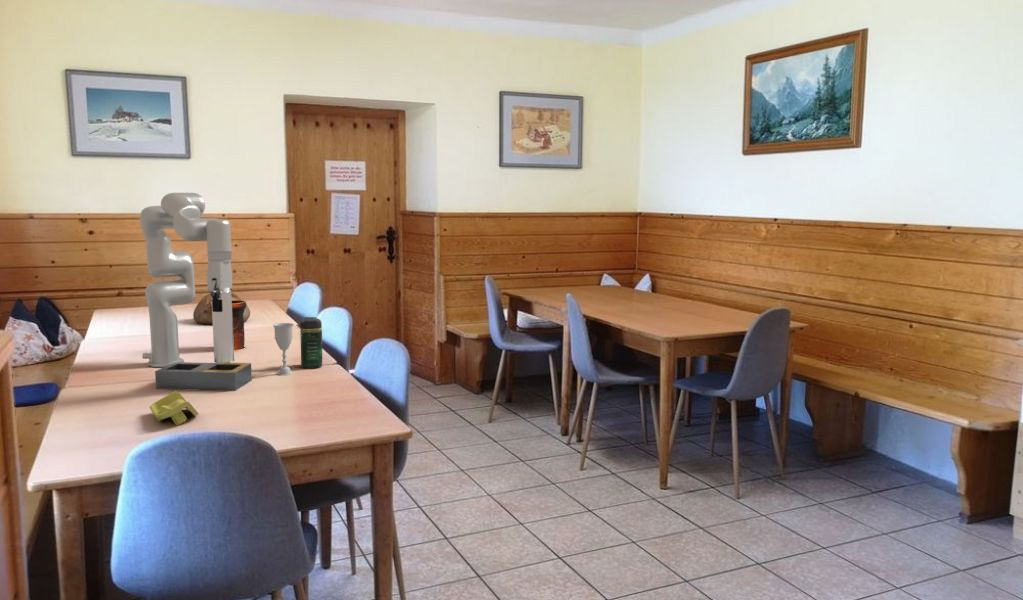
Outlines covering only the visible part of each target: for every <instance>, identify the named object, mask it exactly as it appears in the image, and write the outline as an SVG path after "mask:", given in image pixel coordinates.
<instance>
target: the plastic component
mask: <svg viewBox="0 0 1023 600" xmlns="http://www.w3.org/2000/svg"><path fill="white" fill-rule="evenodd" d="M149 409H150V411H151V412H152V414H153V415H154V417H155V419H156V420H157V421H158V422H161V421H163V420H166V419H168V418H170V419H172V421H173V423H174V424H175V425H176V426H178V425H181V424H182V423H184V422H186V421H187V420H188V418H187V416H186V415H185V413H184V412H183V410H184V409H186V410H188V411H189V412H190V413H191V414H192V416H198V415H199V412H198V411H197V410H196V409H195V408H194V406H193V405H192V404H191V402H189V401H187V400H186V398H184V397H183V396H182V394H181V393H180V392H179V391H173V392H171V393H168V394H167V395H165V396H164V397H162V398H160V399H159V400H156V401H154V403H152V404H151V405H150V406H149Z"/></svg>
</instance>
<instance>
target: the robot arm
mask: <svg viewBox="0 0 1023 600" xmlns="http://www.w3.org/2000/svg"><path fill="white" fill-rule="evenodd" d="M205 209H206V203H205V199H204V198H203V197H202V195H200V194H199V193H197V192H169V193H167V194H165V195H164V196H163V197H162V198H161V201H160V205H151V206H147V207H145V208H143V209H142V210H141V211H140V216H139V224H140V228H141V230H142V234H143V236H144V239H145V246H146V260H147V262H146V263H147V269H148V274H150V276H151V277H153V278H172V277H173V278H174V277H177V278H178V279H175V280H163V281H162V280H159V281H154V282H151V283H149V284H148V285H147V286H146V288H145V291H144V292H145V298H146V299H145V300H146V302H147V309H148V313H149V315H148V316H149V329H150V330H149V331H150V345H151V348H150V350H151V352H143V353H142V357H141V358H142V359H145V360H146V359H148V361H147V366H148V367H152V368H163V367H166V366H168V365H170V364H172V363H175V362H185V360H184V359H183V358H181V357H180V345H179V343H180V342H179V341H180V340H179V325H178V323H179V322H178V316H177V314H176V313H175V312H174V311H173V309H171V307H174V306H180V305H181V306H182V305H183V306H184V305H189V304H191V303H193V302H194V301H195V298H196V284H195V282H196V281H195V267H194V261H193V258H192V256H191V255H190V253H188V252H187V251H182V250H180V251H179V250H178V251H173V250H172V240H171V238H170V236H169V235H168V234H167V233H166V231H165V230H167V229H169V230H172V229H173V230H174V232H175V234H176V235H177V236H179V237H180V238H181V239H183V240H184V241H188V242H201V241H202V242H203V241H204V242H205V241H206V248H207V249H206V250H207V251H206V252H207V262H208V264H207V271H206V272H207V273H206V274H207V275H206V276H207V277H206V278H207V279H206V283H207V284H206V286H207V291H208V292H209V294H211V296H212V297H211V299H212V310H213V312H222V311H223V307H222V300H221V294H222V291H224V290H225V289H227V288H229V289H230V290H231V291H232V288H233V271H232V265H231V264H232V263H231V262H232V261H233V257H232V235H231V231H232V230H231V222H230V221H229V220H228V219H221V218H217V217H216V218H215V217H209V218H208V217H203V218H201V217H202V216H203V214H204V212H205ZM215 289H219V290H215ZM217 293H219V294H217Z"/></svg>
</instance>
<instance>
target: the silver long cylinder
mask: <svg viewBox="0 0 1023 600" xmlns="http://www.w3.org/2000/svg"><path fill="white" fill-rule="evenodd" d="M215 290H219V289H215ZM231 293H232V289H231V290H230V289H229V288H227V289H225V290H224V291H222V294H221V300H222V307H223V311H222V312H213V310H212V321H213V324H212V337H213V338H212V340H213V355H214V356H213V359H214V360H213V363H234V361H235V351H234V341H233V319H232V296H231ZM217 294H219V293H217ZM211 297H212V296H211ZM211 300H212V299H211Z"/></svg>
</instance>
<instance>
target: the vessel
mask: <svg viewBox="0 0 1023 600" xmlns="http://www.w3.org/2000/svg"><path fill="white" fill-rule="evenodd" d="M246 304H247V302H246V301H245V300H244V301H239V300H232V319H233V341H234V352H240V350H241V349H244V348H245V347H246V346H245V342H246V341H245V339H246V338H245V322H244V317H243V313H244V310H245V308H246ZM210 308H211V309H212V302H211V303H210ZM244 346H245V347H244ZM245 349H246V348H245ZM245 349H244V350H245ZM241 351H242V350H241Z"/></svg>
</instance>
